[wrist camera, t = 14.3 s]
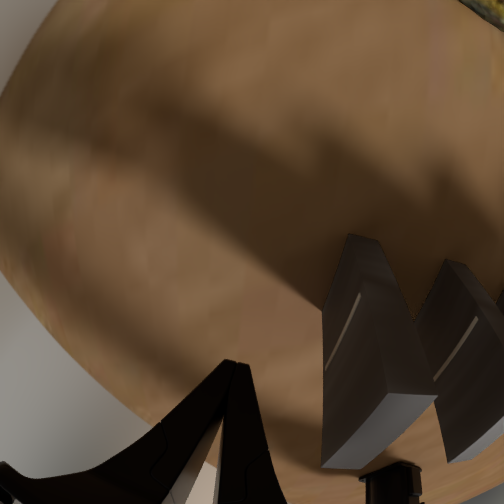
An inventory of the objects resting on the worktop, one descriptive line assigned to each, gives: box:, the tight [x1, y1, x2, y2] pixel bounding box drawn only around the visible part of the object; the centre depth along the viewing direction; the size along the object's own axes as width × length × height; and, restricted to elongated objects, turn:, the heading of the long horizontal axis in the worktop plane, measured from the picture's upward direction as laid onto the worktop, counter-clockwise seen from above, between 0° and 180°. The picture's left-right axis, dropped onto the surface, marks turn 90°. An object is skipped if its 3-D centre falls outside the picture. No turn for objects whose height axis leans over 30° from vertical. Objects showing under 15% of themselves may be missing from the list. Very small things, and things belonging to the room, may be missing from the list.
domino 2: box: [414, 259, 504, 463], centre depth 11 cm, size 2×5×10 cm, turn 171°
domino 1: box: [321, 234, 438, 469], centre depth 11 cm, size 2×5×10 cm, turn 171°
